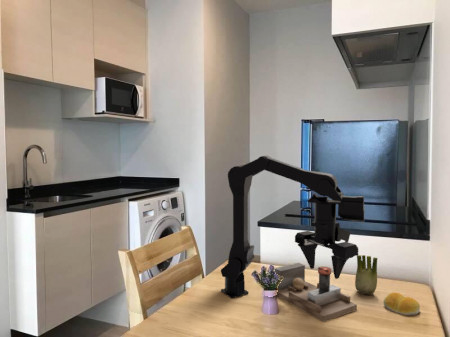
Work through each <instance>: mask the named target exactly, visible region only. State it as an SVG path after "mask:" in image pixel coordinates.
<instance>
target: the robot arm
mask: <svg viewBox="0 0 450 337" xmlns="http://www.w3.org/2000/svg"><path fill="white" fill-rule="evenodd" d="M263 171H267V172H269V173H271V174H275V175H277V176H279V177H282V178H286V179H288V180H291V181H294V182H297V183H300V184H302V185H303V186H305V188H307V189H309V190H310V191H312V192H314V193H313V194H312V196H311V197H310V198H309V199H307V202H308V203H314V221H311V224H310V225H311V226H312V227H314V232H313V231H310V230H304V231H299V232H297V233H296V234H295V235H294V243H297V247H299V248H300V249H301V252H302V254H303V255H304V258H305V260H306V262H307V264H308V266H309V268H310V269H311V270H313V269H315V263H316V250H317V247H318V246H320V247H324V248H327V249H330V250H331V253H332V254H333V255H331V256H330V257H331V263H332V264H331V265H332V269H333V275H334V279H335V280H339V279H340V275H341V274H342V272H343V269H344V266H345V265H346V262H347V261H348V260H349V259H353V258H354V257H357V255H359V247H358V246H357V244H354V243H351V242H349V240H350V236H351V231H350V230H347V229H344V228H341V227H340V226H341V225H340V222H337V216H338V217H339V218H340V219H342V221H350V222H361V223H362V222H363V223H365V211H366V210H365V209H366V207H365V196H364V195H363V196H362V195H358V196H352V195H351V196H350V195H349V196H348V195H344V193H343V192H342V189H340V187H339V186H338V180H337V178H336V176H335V175H333V174H331V173H329V172H322V171H316V170H315V171H314V170H308V169H304V168H301V167H298V166H296V165H293V164H290V163H288V162H284V161H281V160H280V159H279V160H278V159H275V158H272V157H271V156H269V155H262V156H259V157H258V158H256V159H254V160H252V161H250V162H247V163H245V164H242V165H235V166H233V167H230V169H229V170H228V172H227V180H228V186H229V190H230V192H231V195H232V243H231V247H230V250H229V254H228V260H227V264H225V265H224V267H223V268H221V269H220V273H221V276H222V277H223V278H224V288H220V292H222V293H223V294H225V295H226V296H227V297H228V298H231V299H234V298H237V297H240V296H245V295H248V294H249V291H248V290H247V289H245V286H246V285H245V284H246V283H245V274H244V272H245V271H246V270H247V268H248V267H249V266H250V265H251V264H252V263H253V260H254V259H255V254H254V251H255V245H254V244H253V245H251V244H250V242H249V240H248V239H249V238H248V236H249V233H248V232H249V230H248V229H249V228H248V227H249V226H248V225H249V224H248V223H249V221H248V220H249V219H248V218H249V217H248V216H249V212H248V210H249V207H248V205H249V202H248V201H249V198H248V197H249V196H248V195H249V192H250V190H251V186H252V182H253V177H254V176H256V175H258V174H260V173H261V172H263ZM319 195H320V196H319ZM341 241H342V242H341ZM337 242H339V243H337Z"/></svg>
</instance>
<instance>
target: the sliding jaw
mask: <svg viewBox="0 0 450 337" xmlns="http://www.w3.org/2000/svg"><path fill="white" fill-rule="evenodd" d="M317 273H318V283H319V289H316V290H313V291H310V292H308V295H307V300H309V301H311V302H313V303H315V304H317V305H319V306H321V305H324V304H327V303H330V302H333V301H336V300H339V299H340V294H341V293H342V292H341V290H342V289H341V287H339V286H337V285H335V284H331V274H332V268H331V267H329V266H318V267H317Z"/></svg>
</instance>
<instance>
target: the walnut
mask: <svg viewBox="0 0 450 337" xmlns="http://www.w3.org/2000/svg"><path fill="white" fill-rule="evenodd" d="M293 287H294V288H295V289H297V290H301V289H303V287H304V281H303V280H302V279H301V278H295V279H294V280H293Z"/></svg>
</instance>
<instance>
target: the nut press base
mask: <svg viewBox="0 0 450 337" xmlns="http://www.w3.org/2000/svg"><path fill="white" fill-rule="evenodd" d="M274 270H275V272H276V274H278V275H280V276H283V277H284V279H283V280H282V281H281V283H280V284H279V286H278V292H277V296H276V297H278V298H279V299H281V300H283V301H285V302H287V303H289V304H291V305H292V306H294V307H295V308H297V309H299V310H301V311H303V312H305V313H307V314H308V315H310V316H312V317H314V318H316V319H318V321H319V320H320V321H321V322H323V323H324V322H327V321H330V320H332V319H336V318H338V317H341V316H344V315H347V314H349V313H352V312H354V311H357V310H358V309H357V308H358V305H357V304H356V303H355V302H352V301H351V296H349V295H347V294H345V293H343V292H341V294H340V299H339V300H336V301H333V302H330V303H327V304H324V305H321V306H319V305H317V304H315V303H313V302H311V301H309V300H307V295H308V292H310V291H313V290H316V289H319V282H318V283H316V285H314V284H312V283H310V282H308V281H306V278H305V276H306V264H303V263H301V262H296V263H291V264H287V265H283V266H278V267H275V268H274ZM274 270H273V271H274ZM295 278H301V279H302V280H303V281H304V287H303V289H301V290H297V289H295V288H294V287H293V280H294V279H295Z"/></svg>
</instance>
